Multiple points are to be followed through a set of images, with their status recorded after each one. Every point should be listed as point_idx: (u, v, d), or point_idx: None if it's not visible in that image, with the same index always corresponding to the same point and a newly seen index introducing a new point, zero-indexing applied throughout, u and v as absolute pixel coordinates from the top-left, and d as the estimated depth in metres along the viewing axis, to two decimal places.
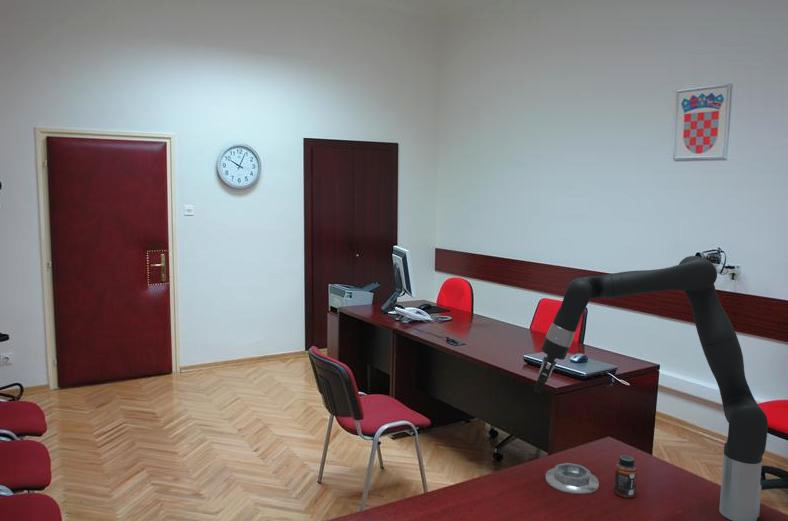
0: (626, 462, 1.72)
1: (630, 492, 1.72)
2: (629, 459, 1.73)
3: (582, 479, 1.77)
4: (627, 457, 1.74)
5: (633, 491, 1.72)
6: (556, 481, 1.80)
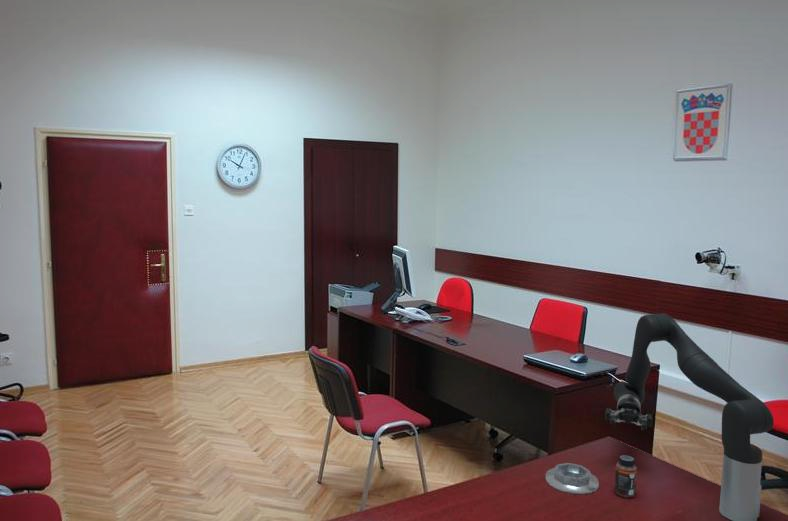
0: (626, 462, 1.72)
1: (630, 492, 1.72)
2: (629, 459, 1.73)
3: (582, 479, 1.77)
4: (627, 457, 1.74)
5: (633, 491, 1.72)
6: (556, 481, 1.80)
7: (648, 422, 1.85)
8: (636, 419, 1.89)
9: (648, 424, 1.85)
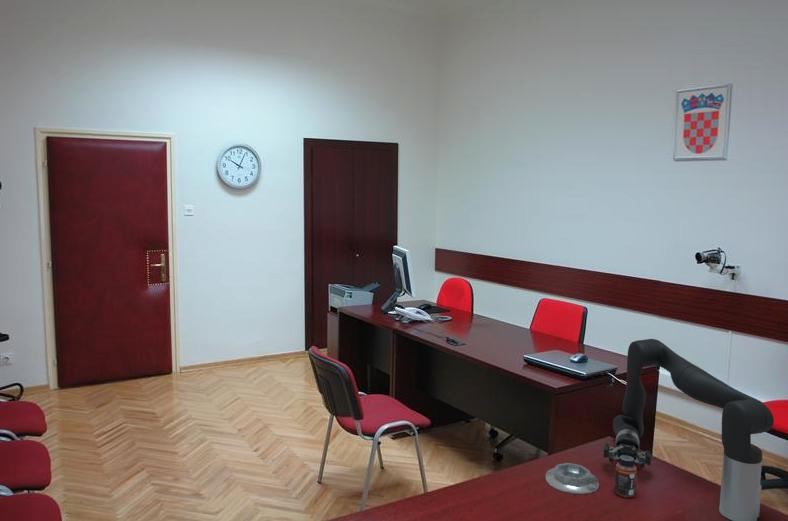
0: (626, 462, 1.72)
1: (630, 492, 1.72)
2: (629, 459, 1.73)
3: (582, 479, 1.77)
4: (627, 457, 1.74)
5: (633, 491, 1.72)
6: (556, 481, 1.80)
7: (647, 460, 1.83)
8: (635, 456, 1.87)
9: (647, 462, 1.84)
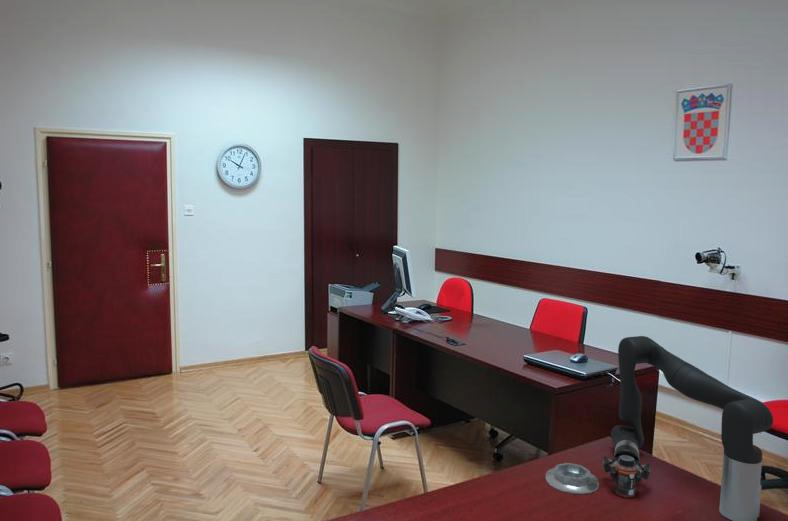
0: (626, 462, 1.72)
1: (630, 492, 1.72)
2: (629, 459, 1.73)
3: (582, 479, 1.77)
4: (627, 457, 1.74)
5: (633, 491, 1.72)
6: (556, 481, 1.80)
7: (643, 474, 1.74)
8: None
9: (643, 476, 1.74)
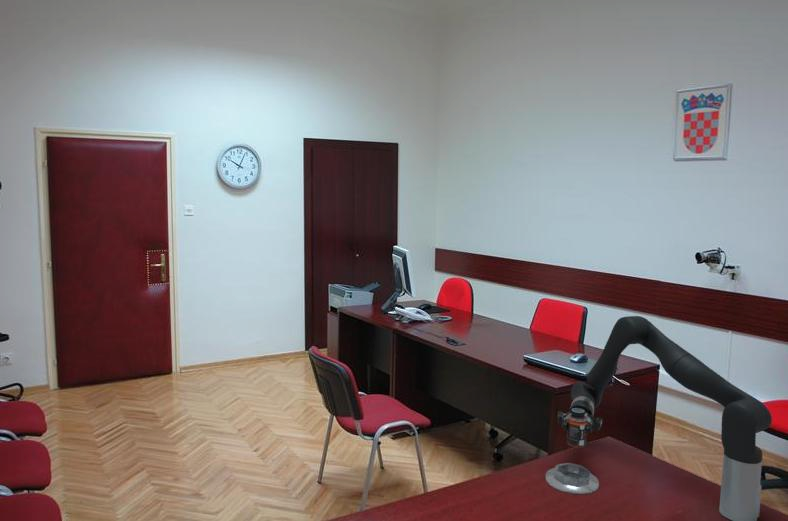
0: (576, 414, 1.78)
1: (580, 442, 1.78)
2: (580, 411, 1.79)
3: (582, 479, 1.77)
4: (578, 410, 1.80)
5: (583, 442, 1.78)
6: (556, 481, 1.80)
7: (594, 425, 1.80)
8: None
9: (594, 428, 1.80)
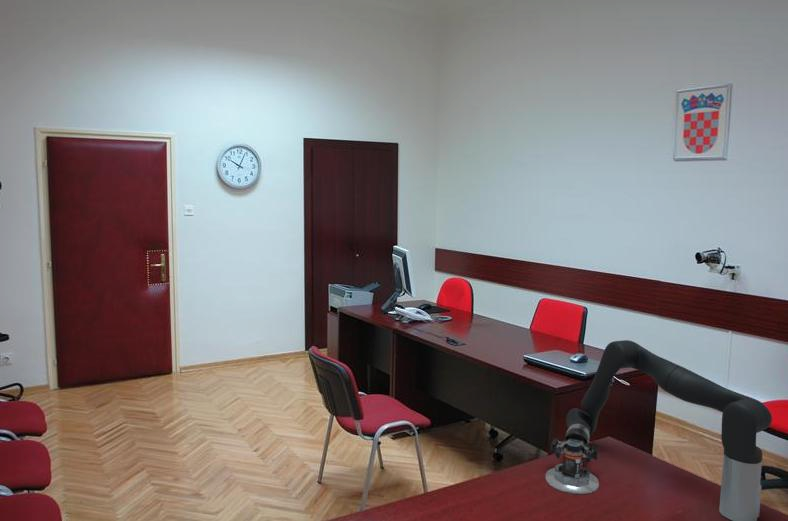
0: (572, 447, 1.79)
1: (576, 476, 1.79)
2: (575, 445, 1.80)
3: (582, 479, 1.77)
4: (574, 443, 1.81)
5: (579, 475, 1.79)
6: (556, 481, 1.80)
7: (593, 454, 1.81)
8: (582, 451, 1.85)
9: (593, 456, 1.81)
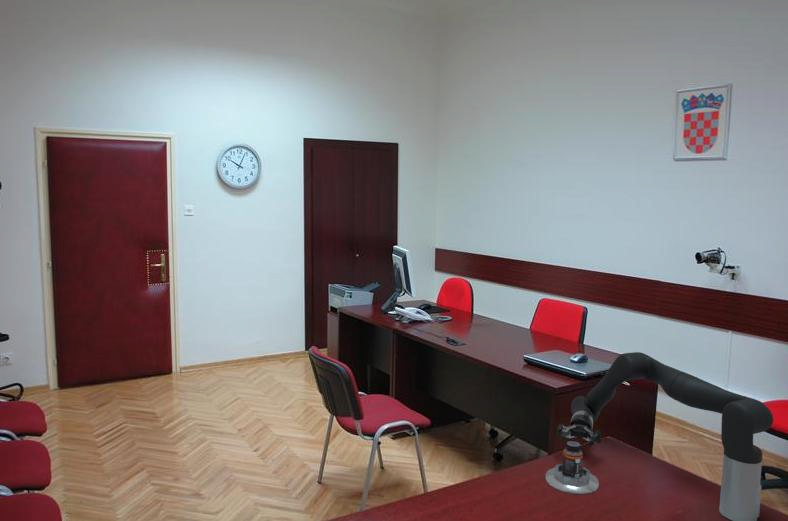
0: (572, 447, 1.79)
1: (576, 476, 1.79)
2: (575, 445, 1.80)
3: (582, 479, 1.77)
4: (574, 443, 1.81)
5: (579, 475, 1.79)
6: (556, 481, 1.80)
7: (597, 438, 1.93)
8: (586, 435, 1.97)
9: (597, 440, 1.93)
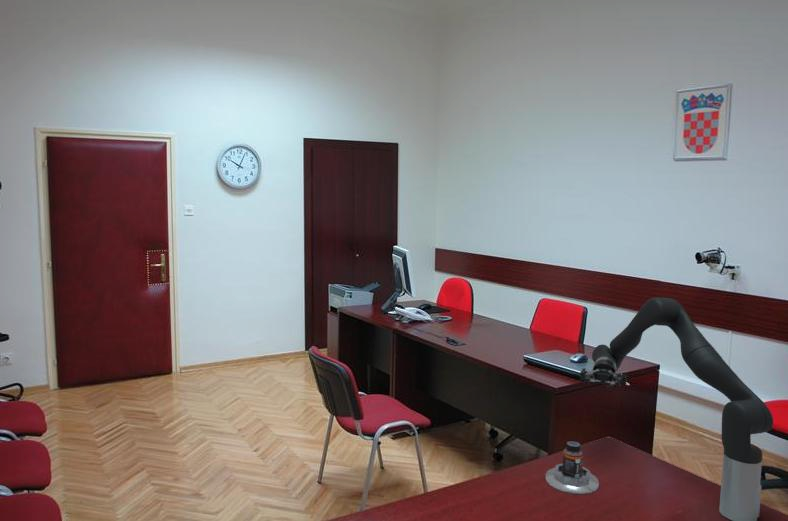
0: (572, 448, 1.79)
1: (576, 476, 1.79)
2: (575, 445, 1.80)
3: (582, 479, 1.77)
4: (574, 443, 1.81)
5: (579, 475, 1.79)
6: (556, 481, 1.80)
7: (622, 380, 1.87)
8: (610, 378, 1.90)
9: (622, 382, 1.87)
